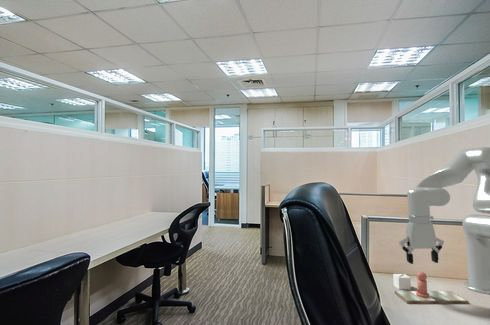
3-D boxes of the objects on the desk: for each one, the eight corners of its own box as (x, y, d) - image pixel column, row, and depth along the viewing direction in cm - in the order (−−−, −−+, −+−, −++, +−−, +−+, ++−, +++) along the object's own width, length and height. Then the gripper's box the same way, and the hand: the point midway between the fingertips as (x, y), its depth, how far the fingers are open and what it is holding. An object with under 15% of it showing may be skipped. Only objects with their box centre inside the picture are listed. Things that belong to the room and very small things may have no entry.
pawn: (425, 293, 119) (424, 270, 120) (431, 297, 115) (430, 273, 115) (414, 293, 119) (413, 270, 120) (420, 297, 115) (419, 273, 116)
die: (404, 285, 132) (404, 273, 132) (410, 289, 127) (410, 277, 127) (393, 285, 132) (393, 273, 132) (399, 289, 127) (398, 277, 127)
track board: (451, 293, 122) (450, 290, 122) (468, 303, 112) (468, 300, 112) (394, 293, 122) (394, 290, 122) (407, 303, 112) (407, 300, 112)
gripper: (435, 217, 122) (438, 259, 122) (393, 219, 123) (396, 260, 122) (447, 220, 115) (450, 264, 114) (402, 222, 115) (405, 266, 115)
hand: (422, 262), depth 118 cm, fingers open, 9 cm apart
